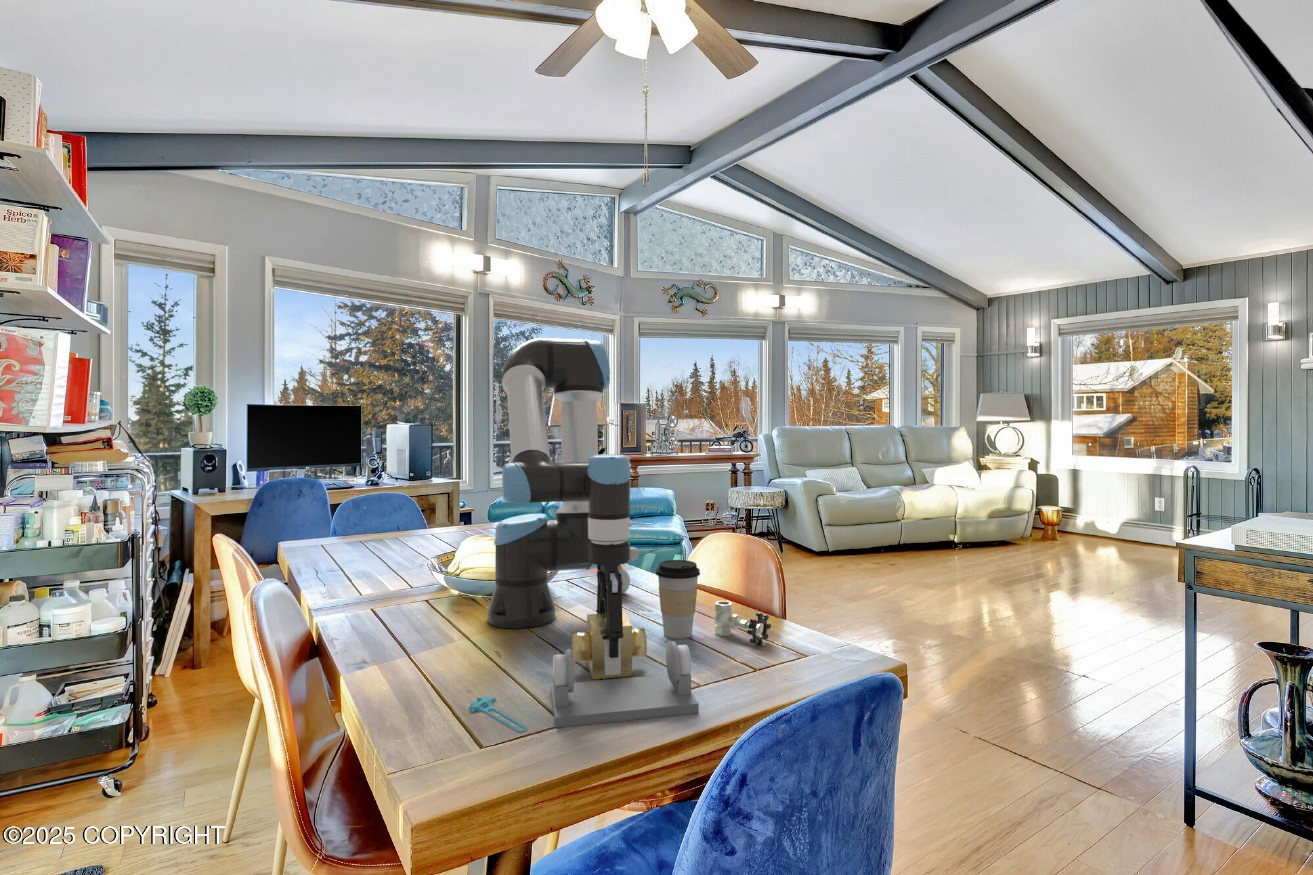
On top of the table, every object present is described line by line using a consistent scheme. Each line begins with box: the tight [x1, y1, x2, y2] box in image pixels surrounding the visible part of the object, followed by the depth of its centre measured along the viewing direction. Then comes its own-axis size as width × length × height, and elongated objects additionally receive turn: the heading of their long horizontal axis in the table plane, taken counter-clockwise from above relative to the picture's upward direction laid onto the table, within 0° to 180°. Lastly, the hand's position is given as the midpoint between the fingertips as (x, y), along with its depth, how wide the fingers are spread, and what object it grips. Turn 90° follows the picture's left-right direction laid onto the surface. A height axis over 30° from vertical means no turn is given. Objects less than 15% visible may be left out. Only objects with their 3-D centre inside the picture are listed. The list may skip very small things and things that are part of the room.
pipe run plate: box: [550, 640, 700, 729], centre depth 103 cm, size 12×22×9 cm, turn 103°
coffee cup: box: [655, 559, 701, 640], centre depth 136 cm, size 9×9×15 cm
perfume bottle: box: [618, 546, 640, 595], centre depth 168 cm, size 8×10×12 cm
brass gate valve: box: [571, 611, 648, 680], centre depth 117 cm, size 8×13×9 cm, turn 103°
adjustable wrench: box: [468, 696, 528, 733], centre depth 99 cm, size 14×1×5 cm
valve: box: [713, 600, 772, 646], centre depth 134 cm, size 7×7×12 cm
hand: (609, 664), depth 117 cm, fingers closed on brass gate valve, 8 cm apart
